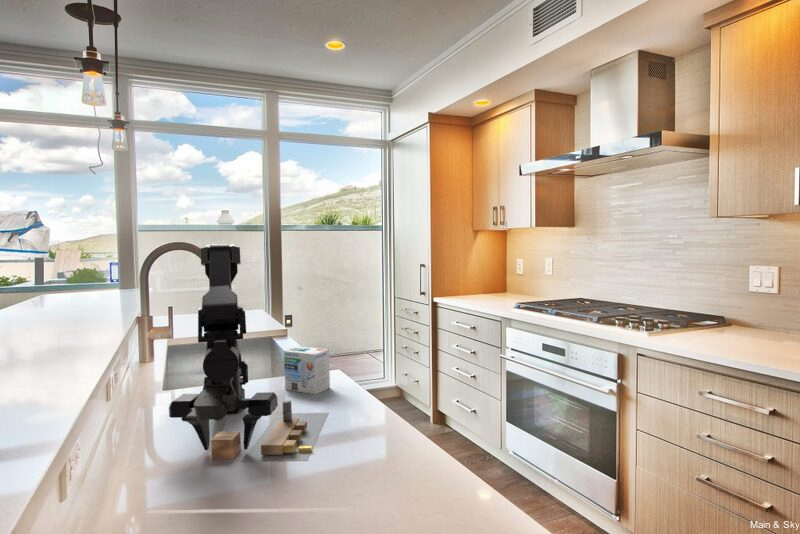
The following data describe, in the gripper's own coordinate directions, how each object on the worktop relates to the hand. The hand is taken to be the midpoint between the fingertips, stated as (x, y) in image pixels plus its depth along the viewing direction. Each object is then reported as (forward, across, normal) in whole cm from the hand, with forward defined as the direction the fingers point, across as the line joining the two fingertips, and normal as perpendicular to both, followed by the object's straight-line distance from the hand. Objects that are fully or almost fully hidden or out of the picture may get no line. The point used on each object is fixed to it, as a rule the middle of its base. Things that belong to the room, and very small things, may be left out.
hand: (226, 449), depth 95 cm
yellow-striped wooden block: (+1, 0, 0) cm, 1 cm away
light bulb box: (+2, +7, +42) cm, 43 cm away
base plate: (+1, +10, +9) cm, 14 cm away
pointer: (+1, +15, 0) cm, 15 cm away
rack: (+1, +10, +6) cm, 11 cm away
